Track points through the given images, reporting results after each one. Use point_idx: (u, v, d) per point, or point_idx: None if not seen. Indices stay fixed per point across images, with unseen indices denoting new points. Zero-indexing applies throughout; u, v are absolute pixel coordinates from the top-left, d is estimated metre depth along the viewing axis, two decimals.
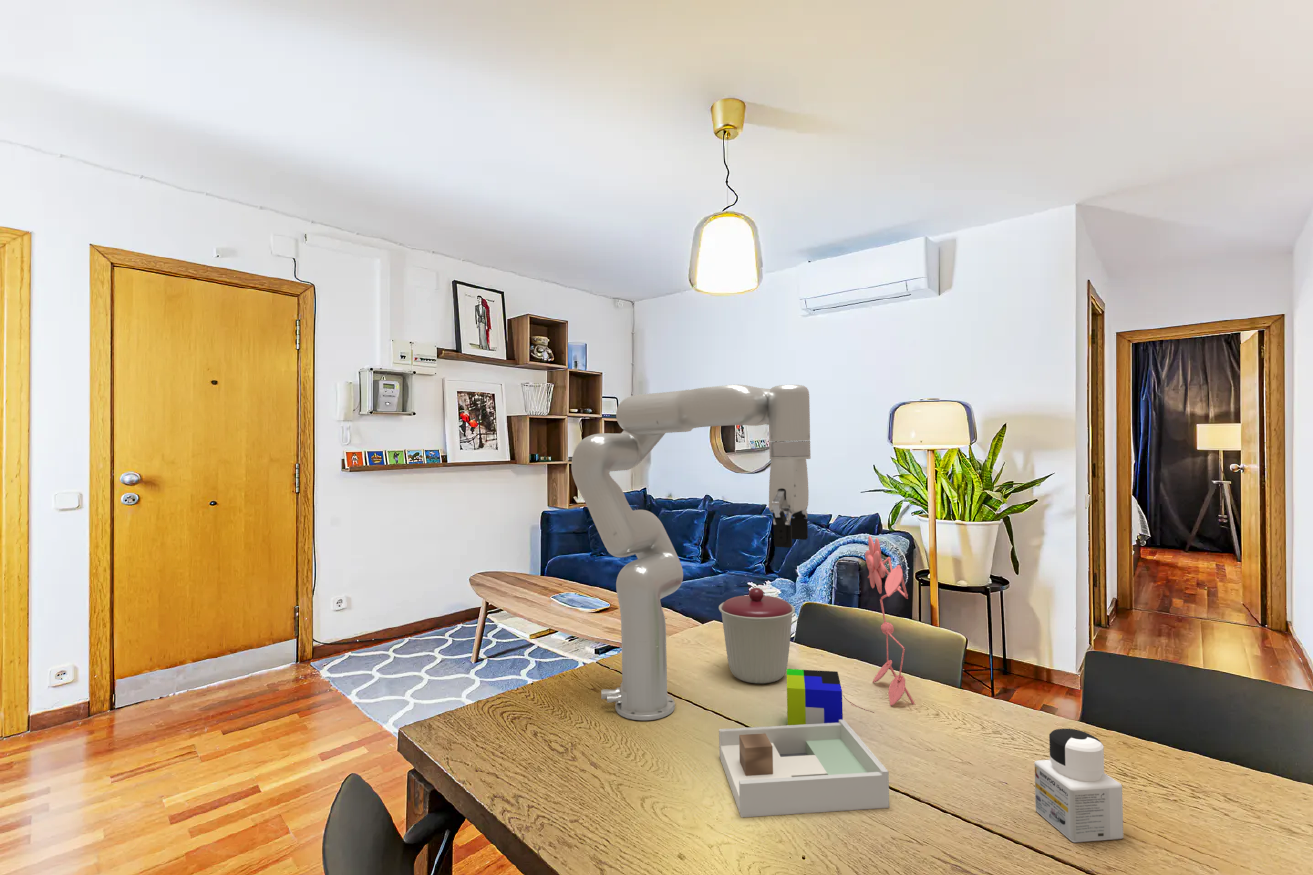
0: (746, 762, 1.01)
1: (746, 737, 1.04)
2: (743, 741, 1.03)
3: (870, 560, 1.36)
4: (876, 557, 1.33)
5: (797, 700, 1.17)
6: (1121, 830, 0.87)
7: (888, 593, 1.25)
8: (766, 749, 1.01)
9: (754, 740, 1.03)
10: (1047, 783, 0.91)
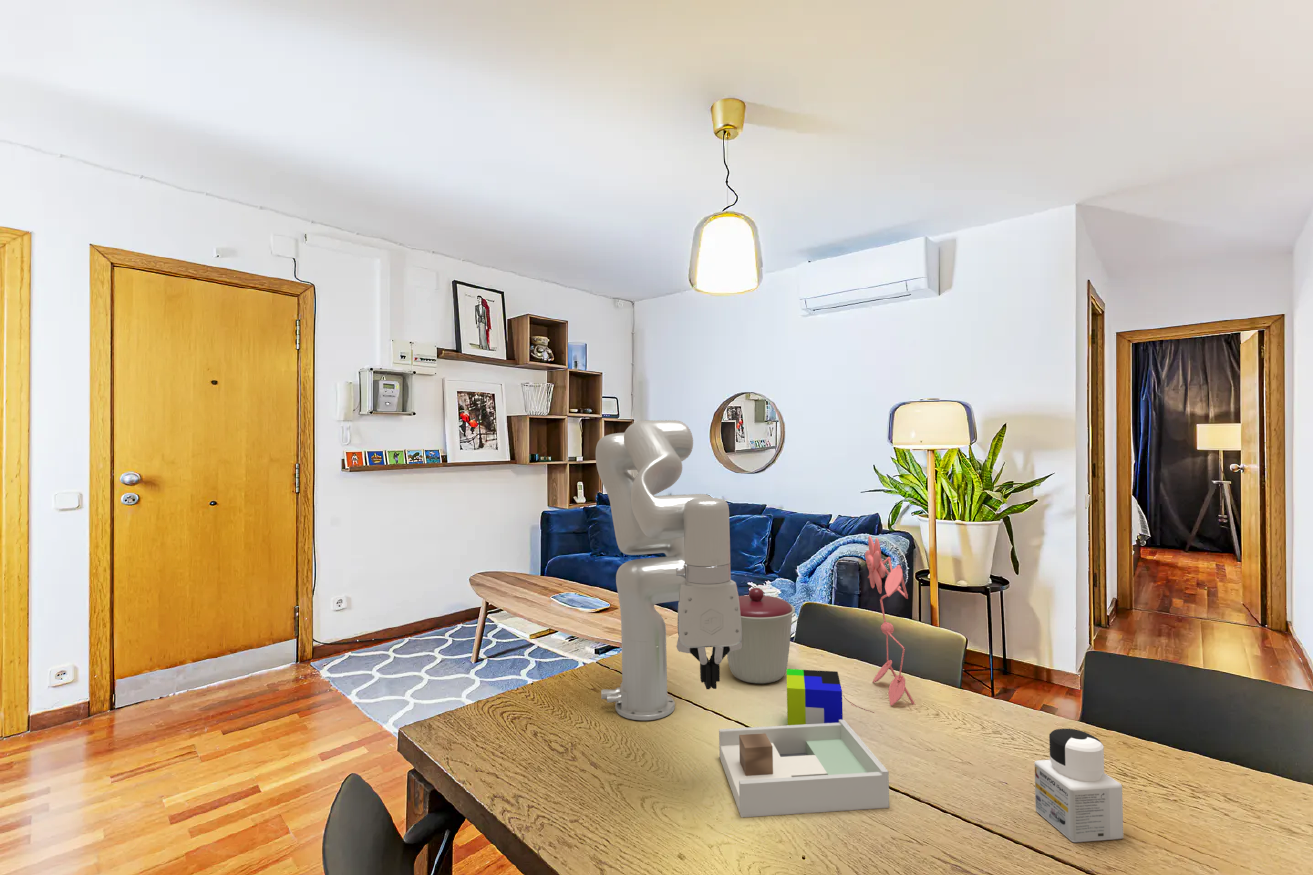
0: (746, 762, 1.01)
1: (746, 737, 1.04)
2: (743, 741, 1.03)
3: (870, 560, 1.36)
4: (876, 557, 1.33)
5: (797, 700, 1.17)
6: (1121, 830, 0.87)
7: (888, 593, 1.25)
8: (766, 749, 1.01)
9: (754, 740, 1.03)
10: (1047, 783, 0.91)
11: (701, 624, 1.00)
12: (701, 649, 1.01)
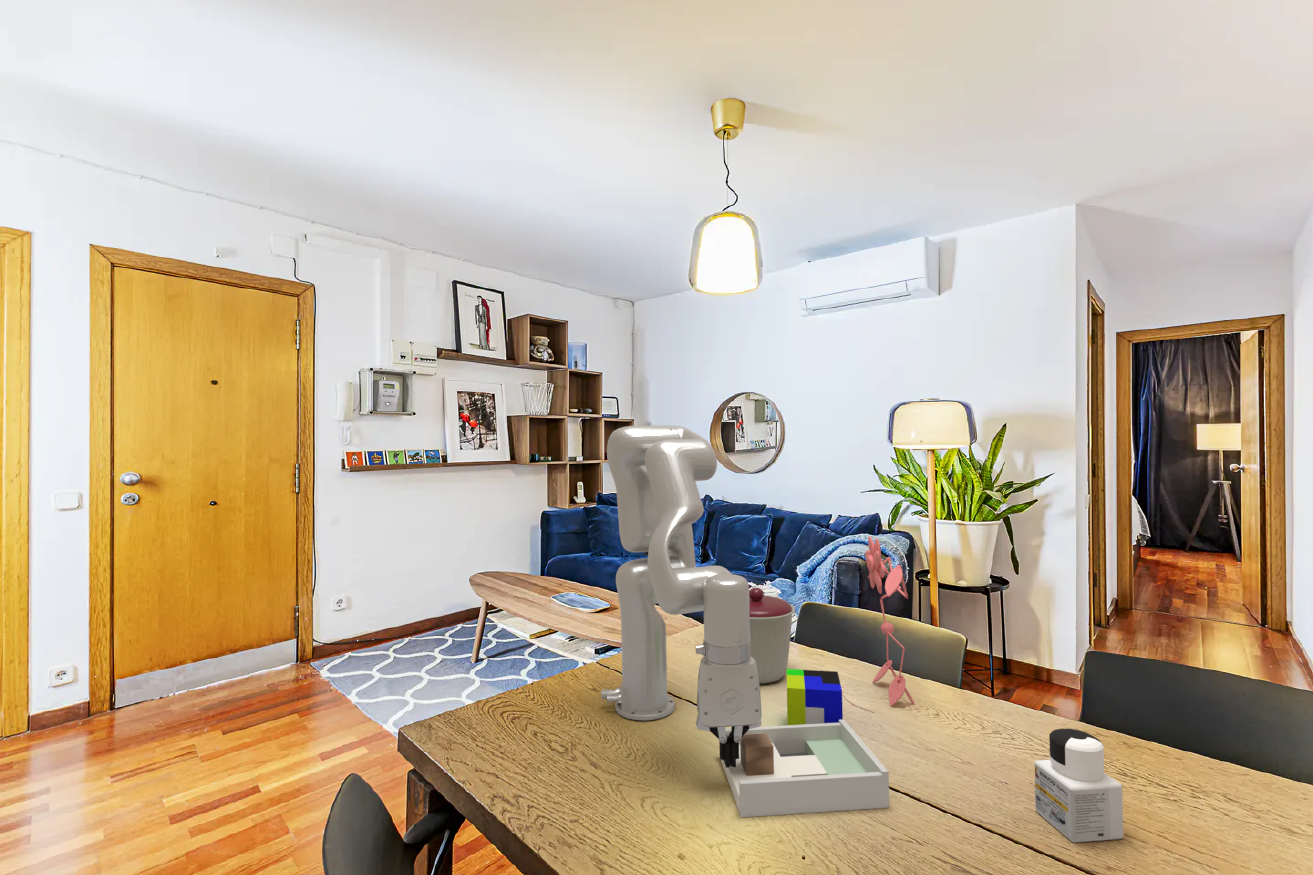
0: (747, 762, 1.01)
1: (747, 737, 1.04)
2: (744, 741, 1.03)
3: (870, 560, 1.36)
4: (876, 557, 1.33)
5: (797, 699, 1.17)
6: (1121, 830, 0.87)
7: (888, 593, 1.25)
8: (767, 749, 1.01)
9: (755, 740, 1.03)
10: (1047, 783, 0.91)
11: (721, 704, 1.00)
12: (720, 727, 1.01)
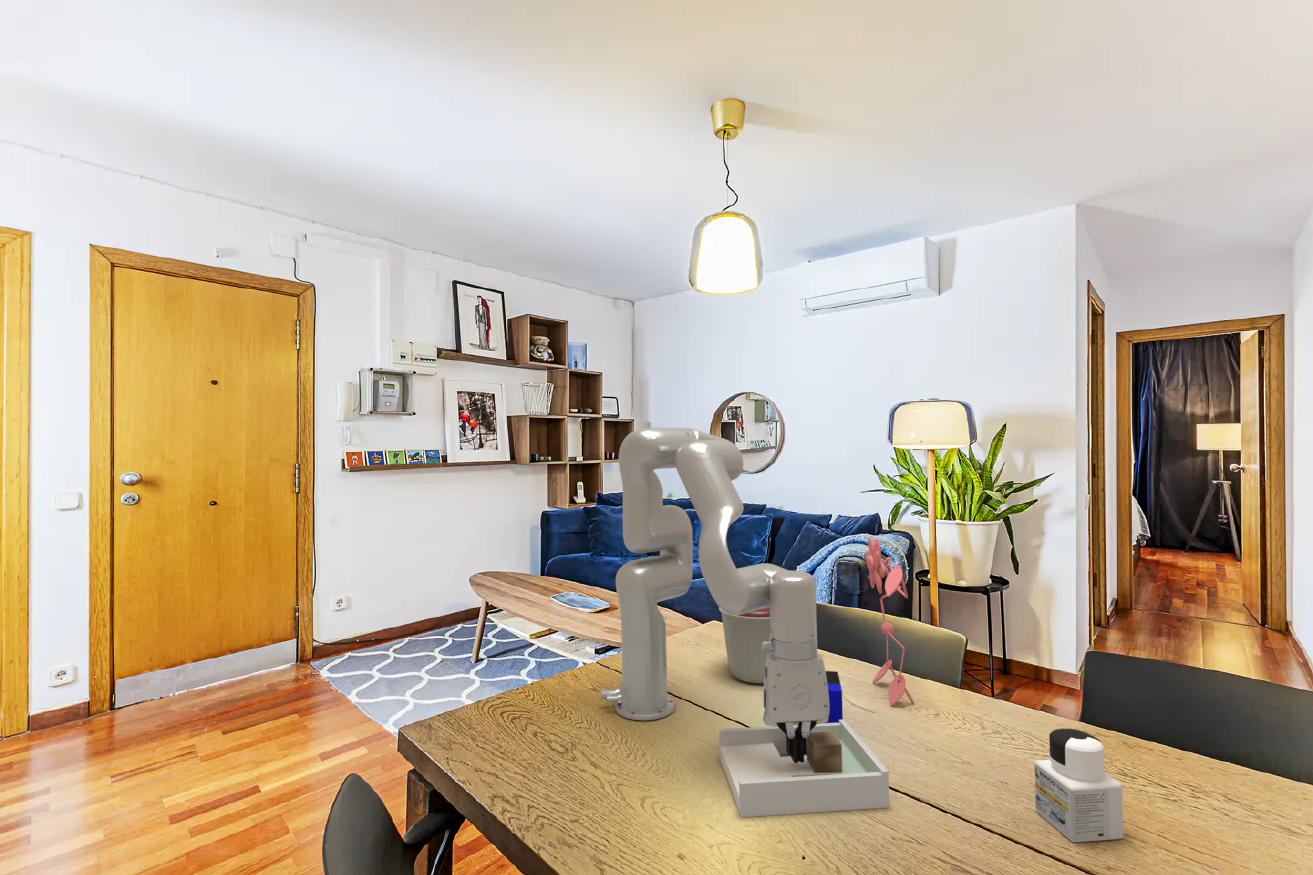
0: (815, 760, 1.01)
1: (813, 734, 1.05)
2: (811, 739, 1.03)
3: (870, 560, 1.37)
4: (876, 557, 1.33)
5: None
6: (1121, 830, 0.87)
7: (888, 593, 1.26)
8: (835, 747, 1.01)
9: (822, 737, 1.03)
10: (1047, 783, 0.91)
11: (790, 699, 1.01)
12: (788, 723, 1.02)
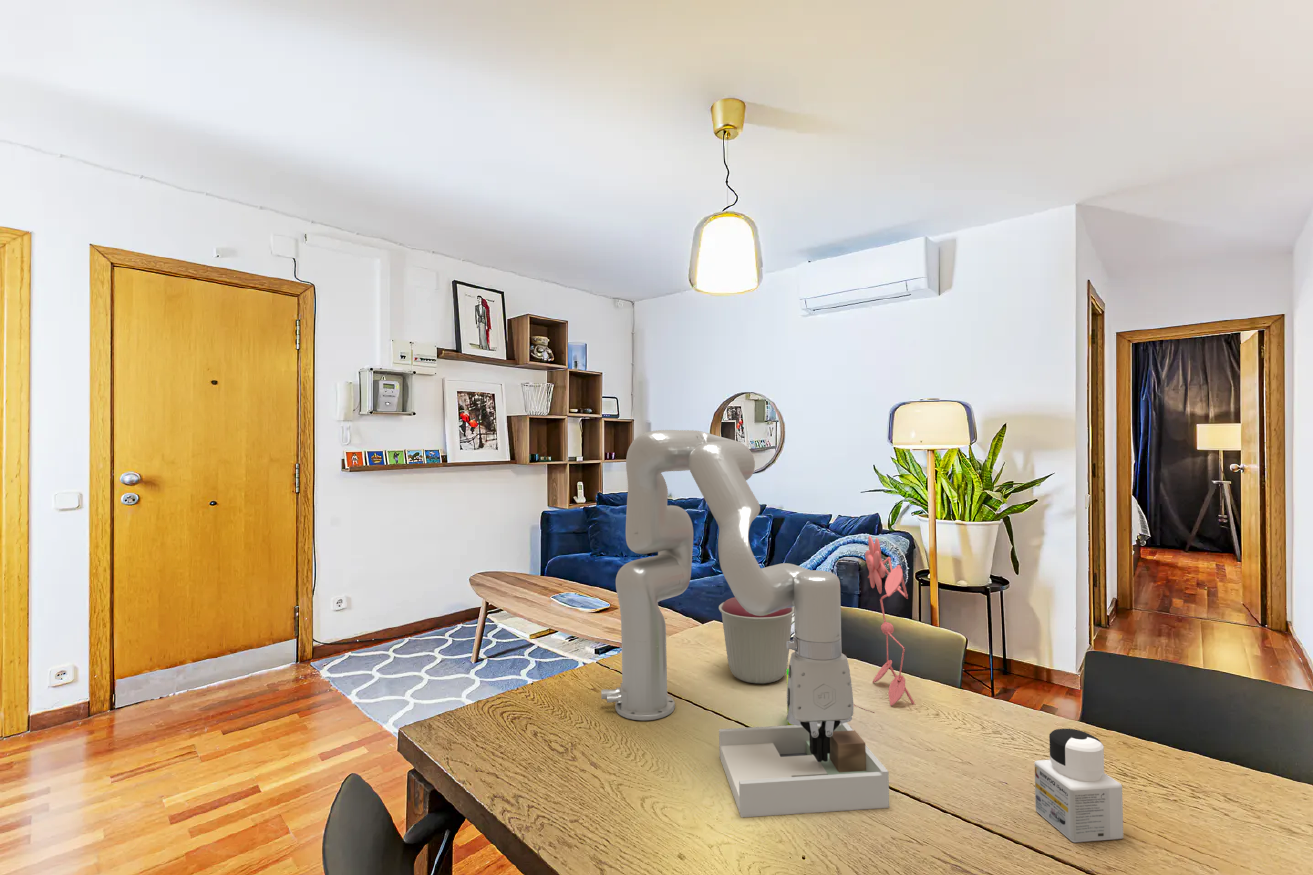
0: (839, 759, 1.01)
1: (836, 733, 1.05)
2: (834, 738, 1.03)
3: (870, 560, 1.36)
4: (876, 557, 1.33)
5: None
6: (1121, 830, 0.87)
7: (888, 593, 1.25)
8: (859, 746, 1.01)
9: (845, 736, 1.04)
10: (1047, 783, 0.91)
11: (814, 699, 1.01)
12: (812, 722, 1.02)
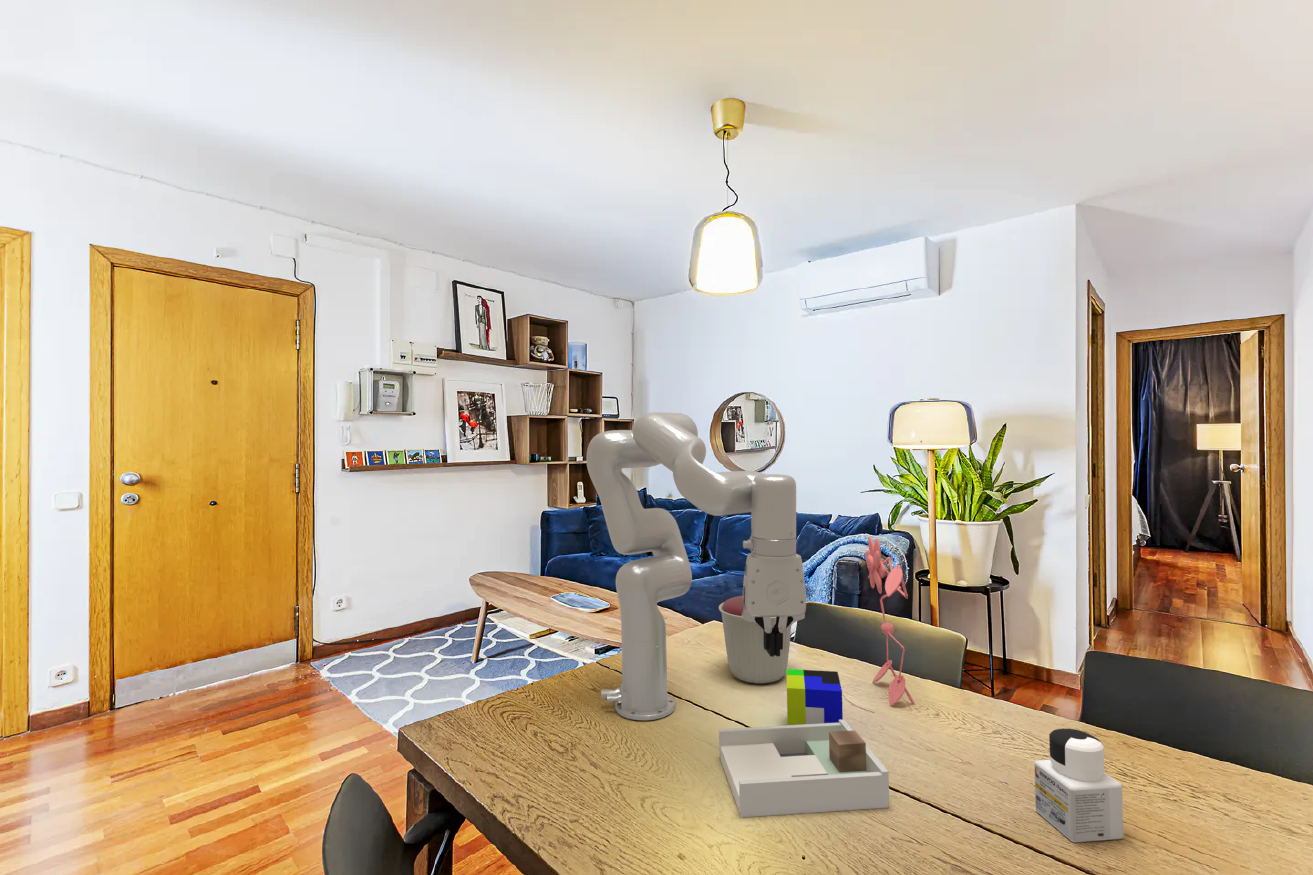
0: (840, 759, 1.01)
1: (836, 734, 1.05)
2: (835, 738, 1.03)
3: (870, 560, 1.36)
4: (876, 557, 1.33)
5: (797, 699, 1.17)
6: (1121, 830, 0.87)
7: (888, 593, 1.25)
8: (859, 746, 1.01)
9: (845, 736, 1.04)
10: (1047, 783, 0.91)
11: (768, 594, 1.04)
12: (766, 618, 1.05)
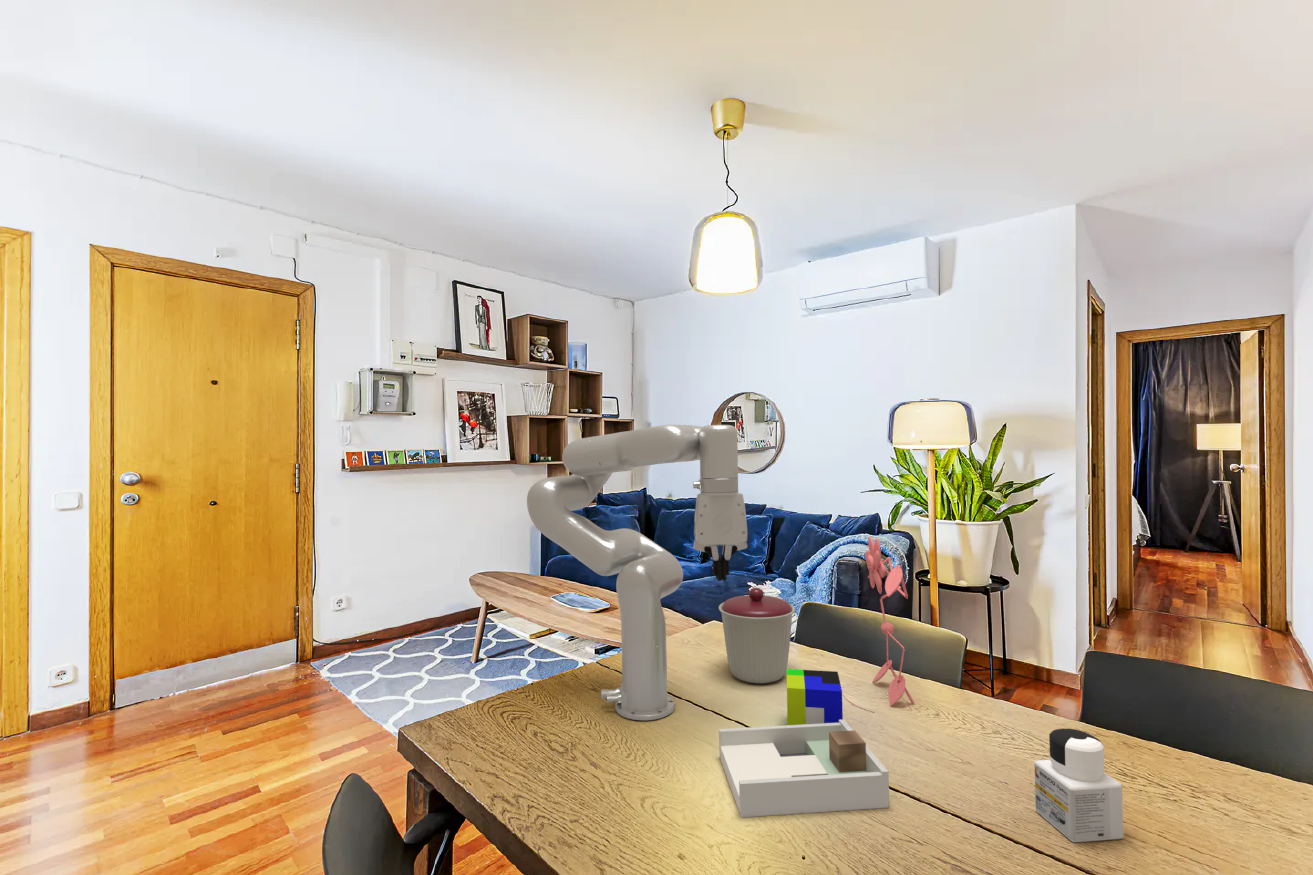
0: (840, 759, 1.01)
1: (836, 734, 1.05)
2: (835, 738, 1.03)
3: (870, 560, 1.36)
4: (876, 557, 1.33)
5: (797, 699, 1.17)
6: (1121, 830, 0.87)
7: (888, 593, 1.25)
8: (859, 746, 1.01)
9: (845, 736, 1.04)
10: (1047, 783, 0.91)
11: (714, 526, 1.21)
12: (713, 547, 1.23)
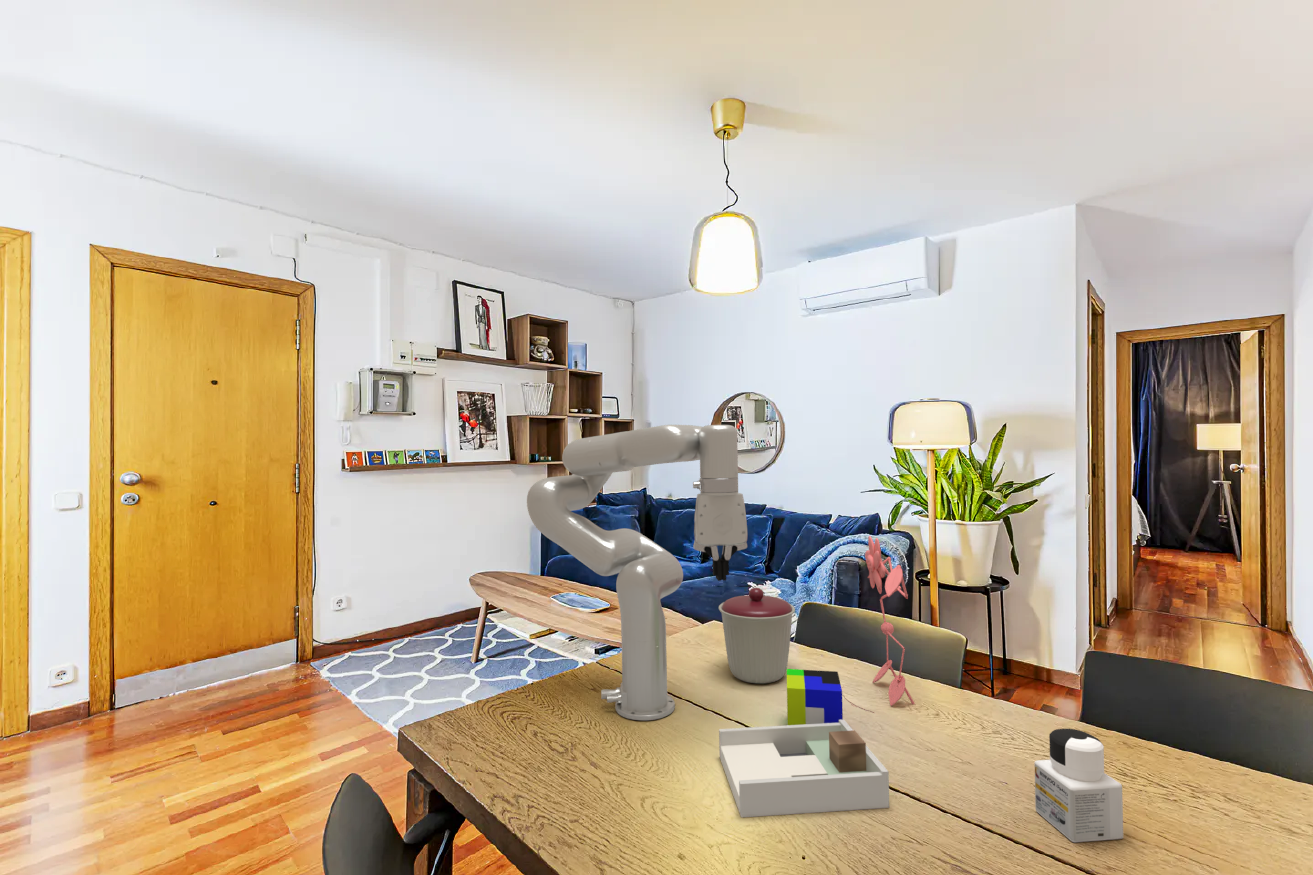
0: (840, 759, 1.01)
1: (836, 734, 1.05)
2: (835, 738, 1.03)
3: (870, 560, 1.36)
4: (876, 557, 1.33)
5: (797, 700, 1.17)
6: (1121, 830, 0.87)
7: (888, 593, 1.25)
8: (859, 746, 1.01)
9: (845, 736, 1.04)
10: (1047, 783, 0.91)
11: (714, 526, 1.21)
12: (713, 547, 1.23)
